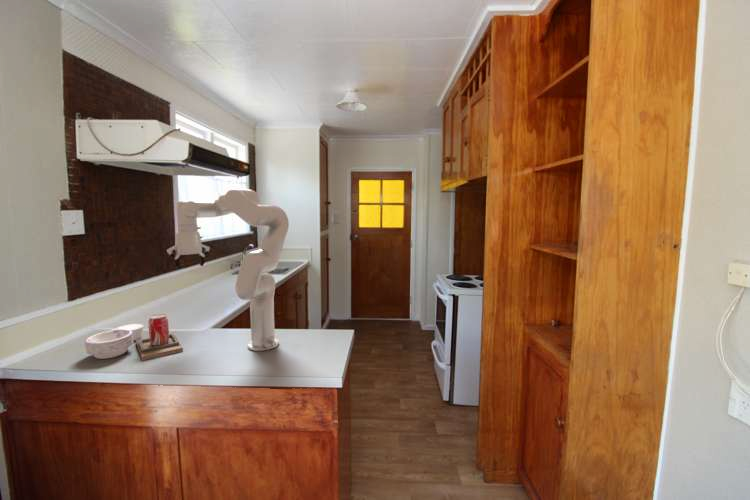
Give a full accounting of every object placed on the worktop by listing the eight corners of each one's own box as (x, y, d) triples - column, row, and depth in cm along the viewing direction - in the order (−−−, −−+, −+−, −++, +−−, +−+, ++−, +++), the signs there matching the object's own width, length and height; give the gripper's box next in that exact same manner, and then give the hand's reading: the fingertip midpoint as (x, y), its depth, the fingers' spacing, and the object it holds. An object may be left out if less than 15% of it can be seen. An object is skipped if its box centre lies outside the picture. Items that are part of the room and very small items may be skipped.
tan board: (182, 351, 143) (182, 347, 142) (142, 360, 134) (141, 356, 134) (173, 336, 159) (173, 333, 159) (136, 343, 151) (136, 340, 151)
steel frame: (179, 344, 146) (179, 342, 145) (142, 352, 137) (141, 349, 137) (173, 336, 156) (173, 333, 155) (138, 343, 147) (138, 340, 147)
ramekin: (109, 345, 150) (107, 333, 149) (119, 336, 160) (118, 325, 160) (138, 342, 153) (137, 330, 152) (147, 333, 163) (146, 322, 163)
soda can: (148, 343, 147) (146, 316, 145) (167, 339, 152) (165, 312, 150) (152, 348, 142) (150, 319, 140) (171, 343, 147) (169, 316, 145)
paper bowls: (76, 361, 133) (74, 341, 132) (111, 346, 148) (109, 328, 147) (111, 363, 131) (109, 343, 130) (143, 347, 146) (141, 329, 145)
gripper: (206, 227, 163) (208, 263, 165) (163, 229, 152) (166, 267, 154) (210, 228, 157) (212, 265, 159) (166, 230, 146) (169, 270, 148)
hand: (190, 266), depth 157 cm, fingers open, 9 cm apart
